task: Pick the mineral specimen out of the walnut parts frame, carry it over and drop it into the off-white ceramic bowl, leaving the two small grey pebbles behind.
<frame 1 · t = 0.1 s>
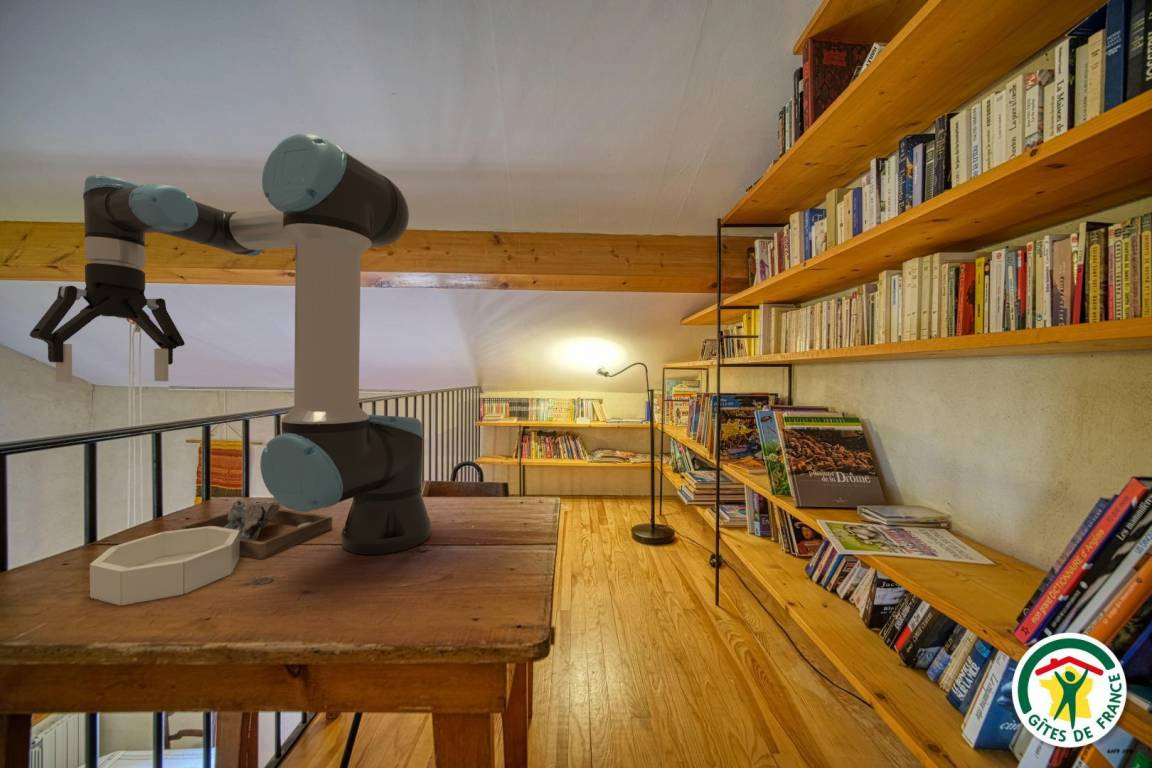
hand: (116, 381, 78), 28 cm above the table, fingers open, 13 cm apart
mineral specimen: (252, 537, 79), on the table
pebble a: (306, 533, 81), on the table
bowl: (172, 575, 63), on the table
parts frame: (256, 535, 78), on the table
pebble b: (201, 540, 76), on the table
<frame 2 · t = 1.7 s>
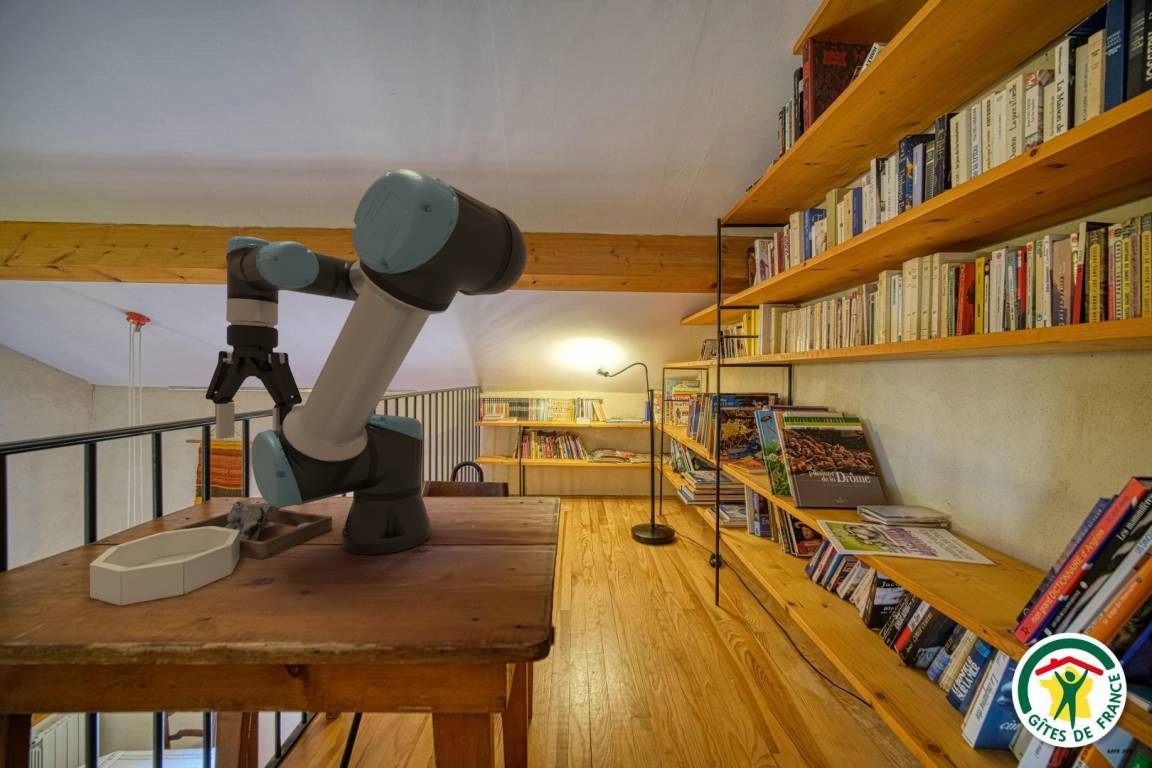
hand: (252, 440, 78), 18 cm above the table, fingers open, 13 cm apart
nothing on the table moved.
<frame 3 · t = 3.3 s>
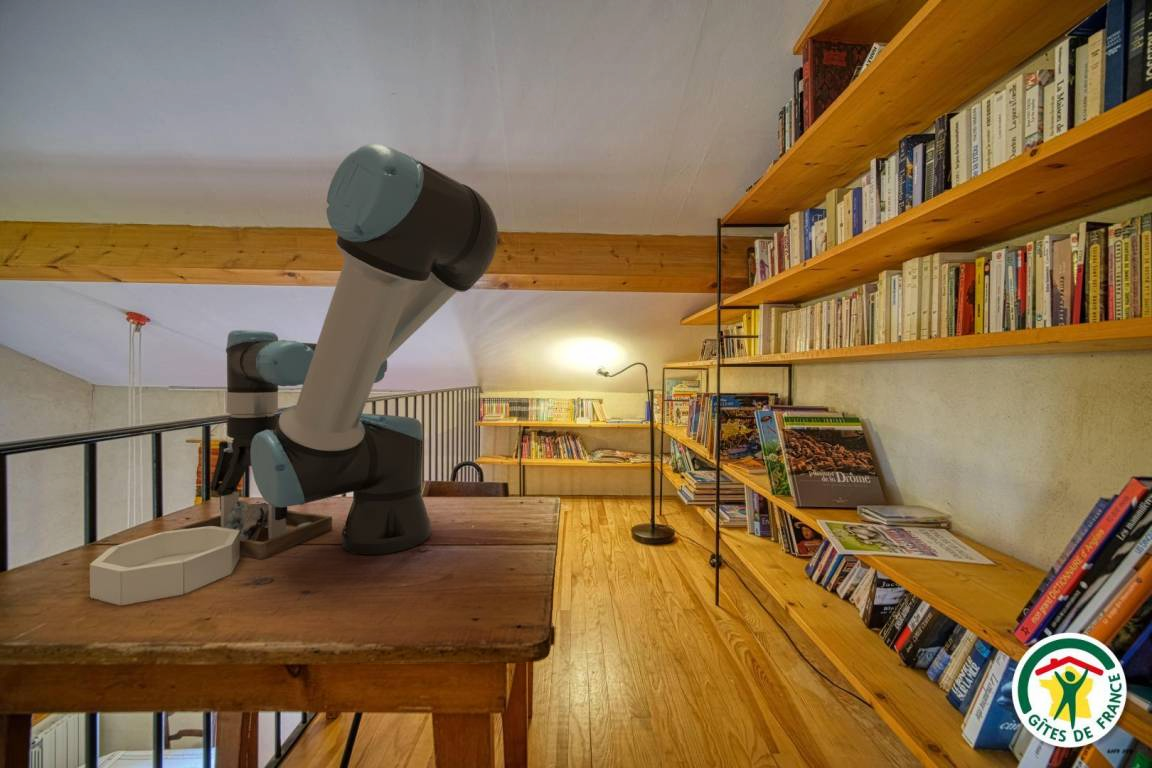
hand: (253, 532, 79), 0 cm above the table, fingers open, 11 cm apart
mineral specimen: (252, 538, 78), on the table, touching gripper
everything else where it was.
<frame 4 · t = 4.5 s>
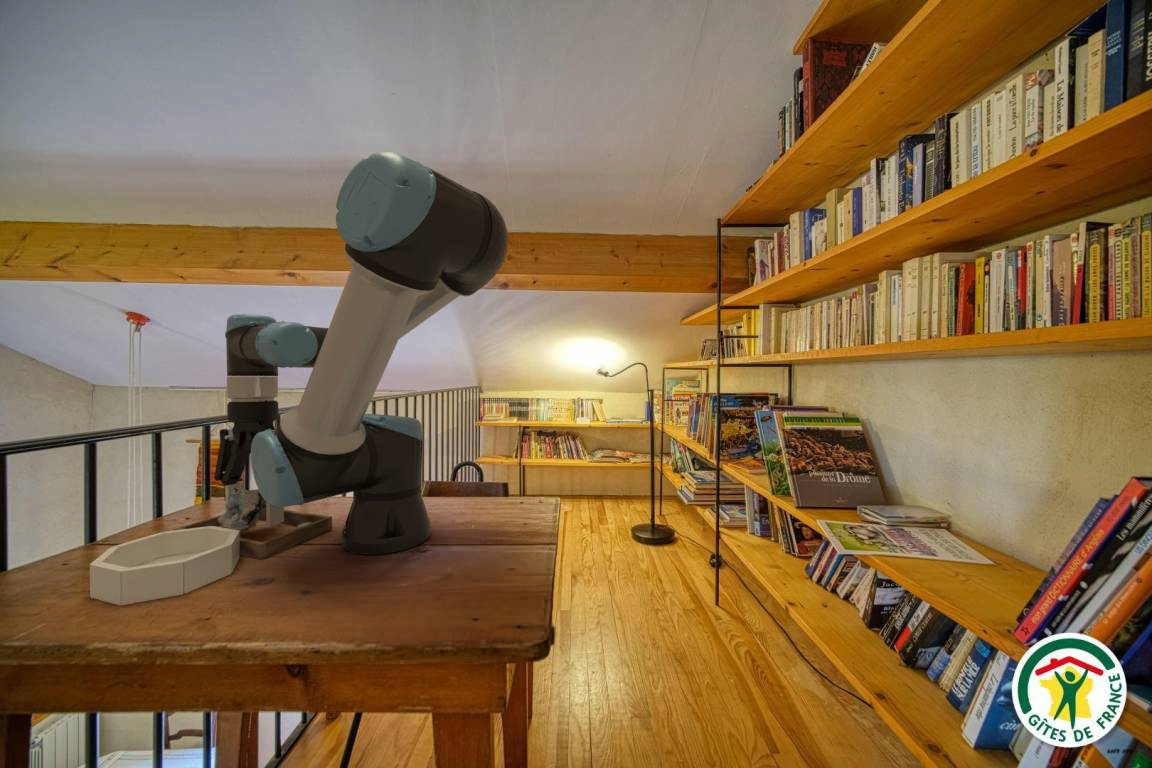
hand: (254, 521, 78), 3 cm above the table, fingers closed on mineral specimen, 9 cm apart
mineral specimen: (251, 523, 78), point 2 cm above the table, touching gripper
everything else where it was.
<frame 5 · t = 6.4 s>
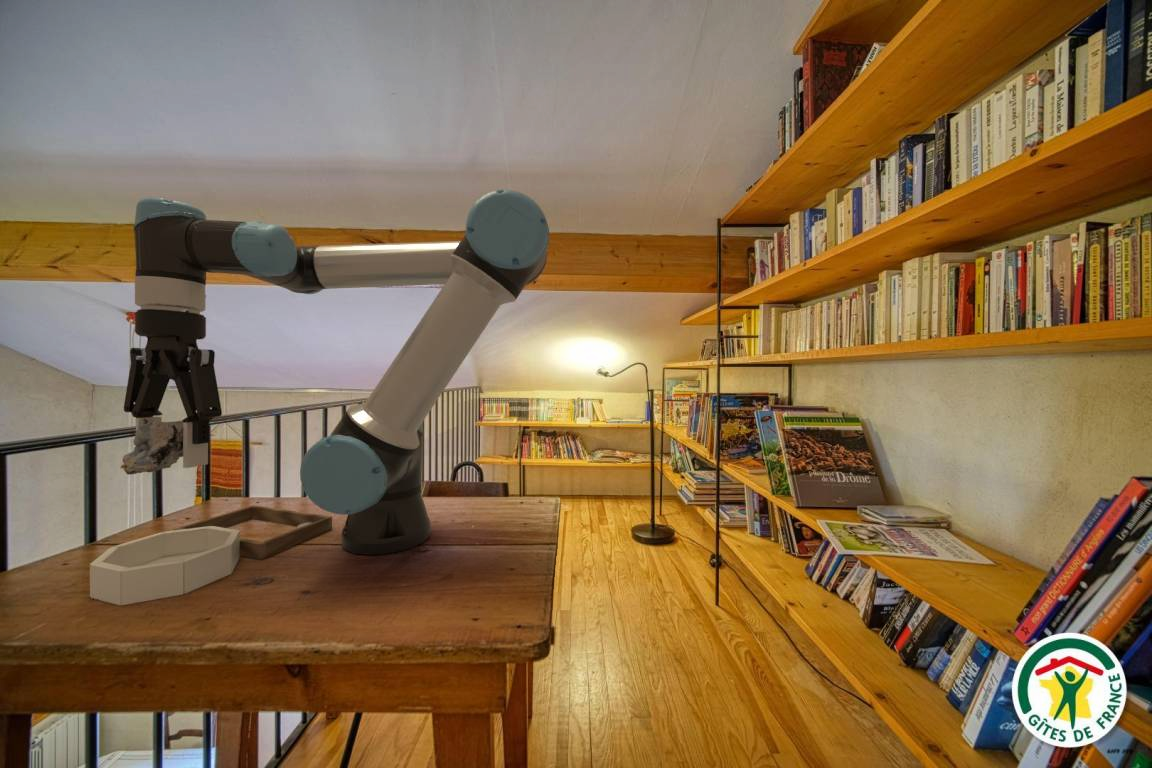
hand: (171, 462, 63), 17 cm above the table, fingers closed on mineral specimen, 9 cm apart
mineral specimen: (168, 466, 62), point 17 cm above the table, touching gripper
everything else where it was.
when the fingers open (5 cm above the table, at t = 8.1 s): mineral specimen drops 4 cm, resting on bowl.
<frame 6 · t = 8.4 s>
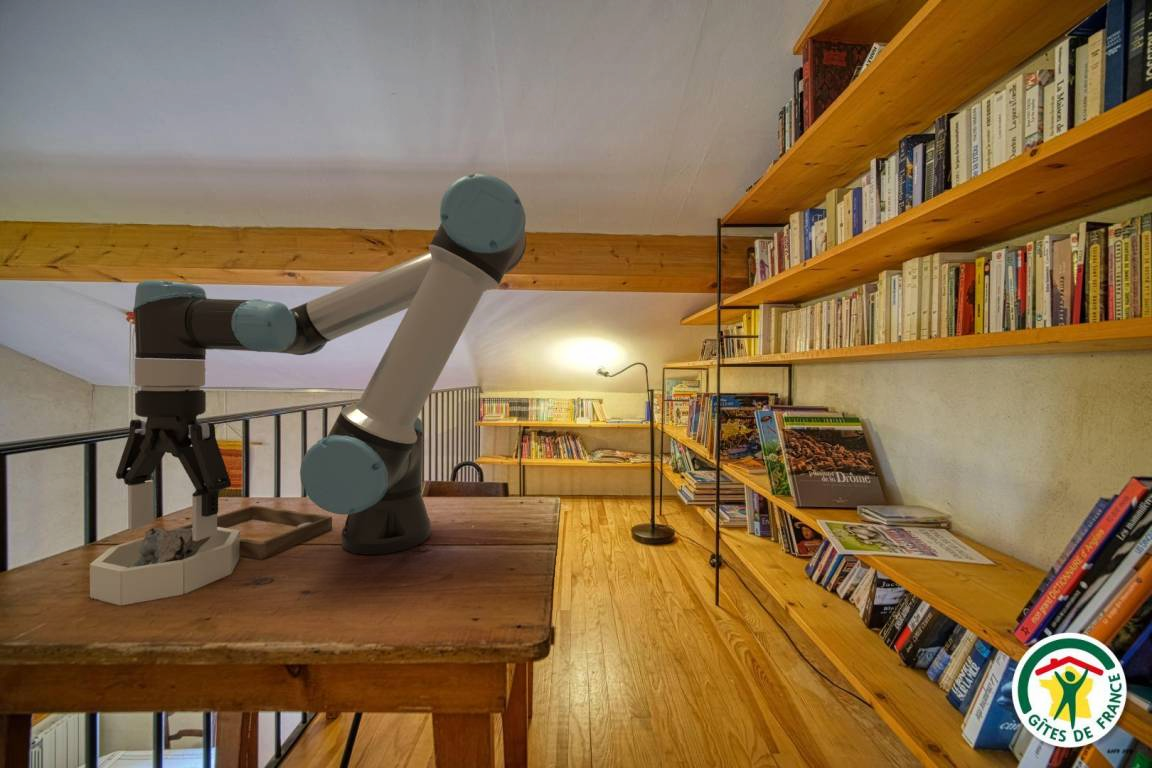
hand: (172, 531, 63), 7 cm above the table, fingers open, 13 cm apart
mineral specimen: (172, 573, 63), point 1 cm above the table, touching bowl
everything else where it was.
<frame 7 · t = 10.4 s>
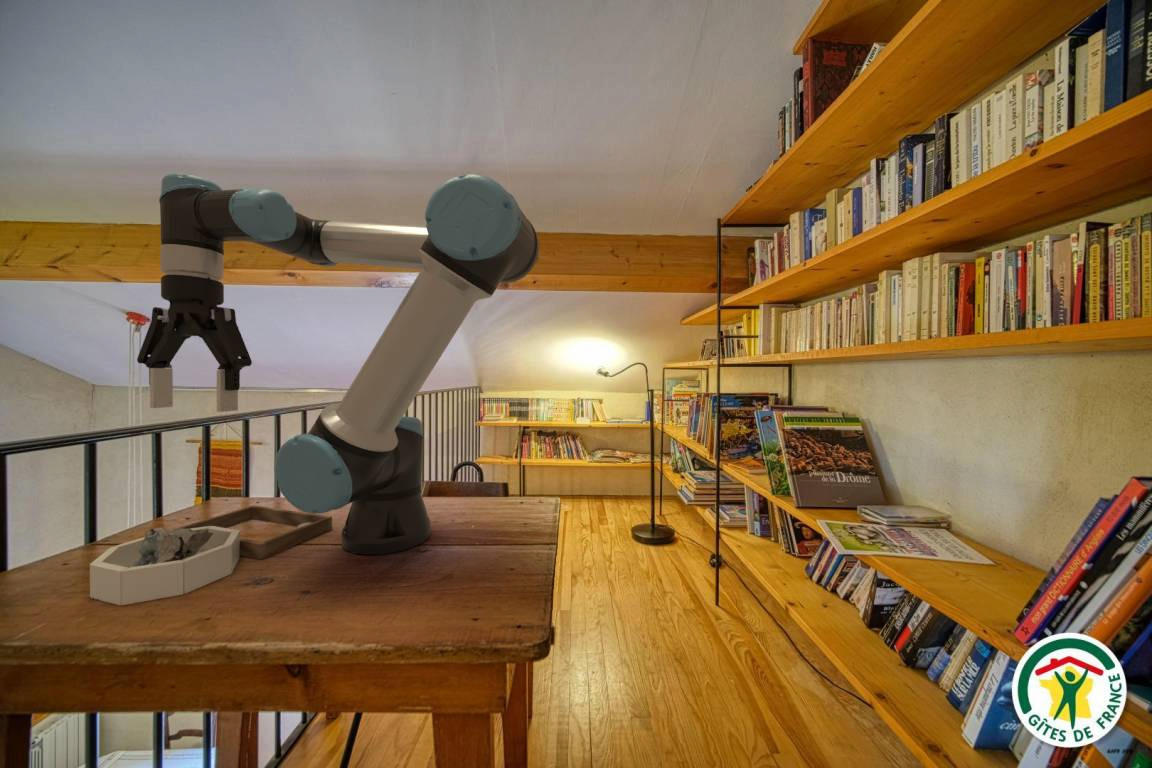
hand: (193, 409, 69), 24 cm above the table, fingers open, 13 cm apart
nothing on the table moved.
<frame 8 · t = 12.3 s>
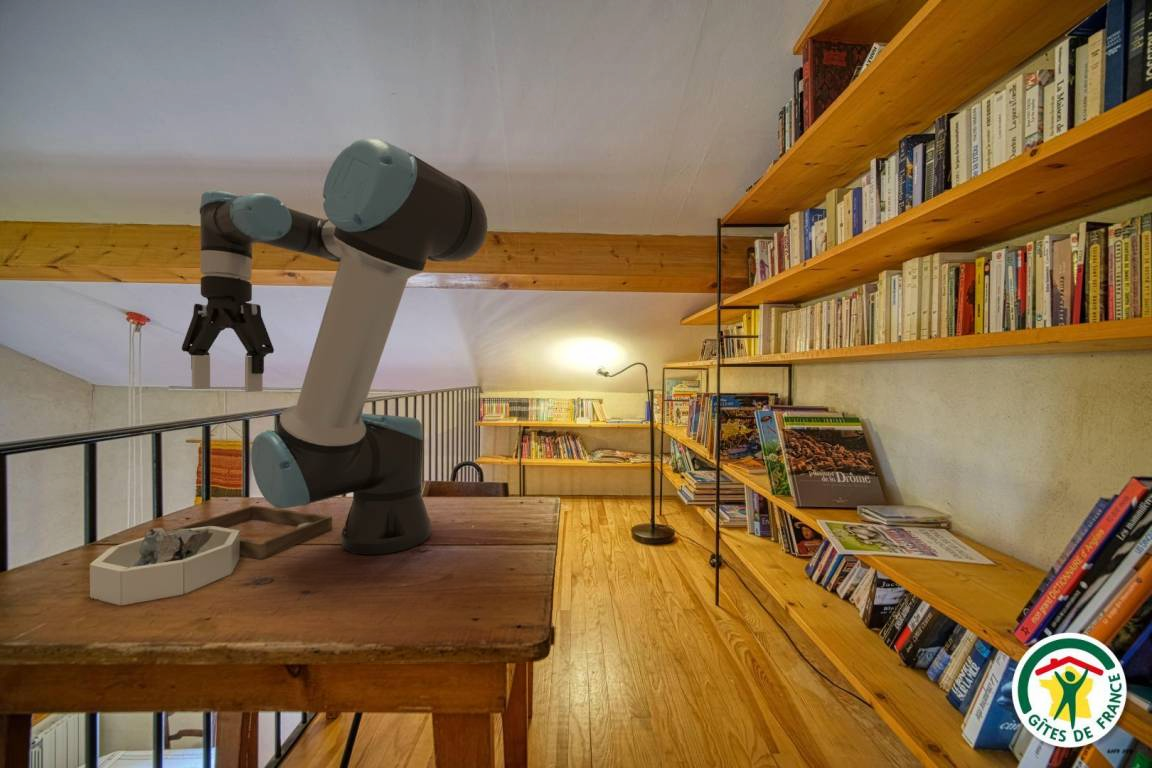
hand: (226, 390, 81), 27 cm above the table, fingers open, 13 cm apart
nothing on the table moved.
at the end: mineral specimen 1.0 cm from the bowl (horizontally); mineral specimen point 0.6 cm above the table; the gripper is holding nothing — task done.
